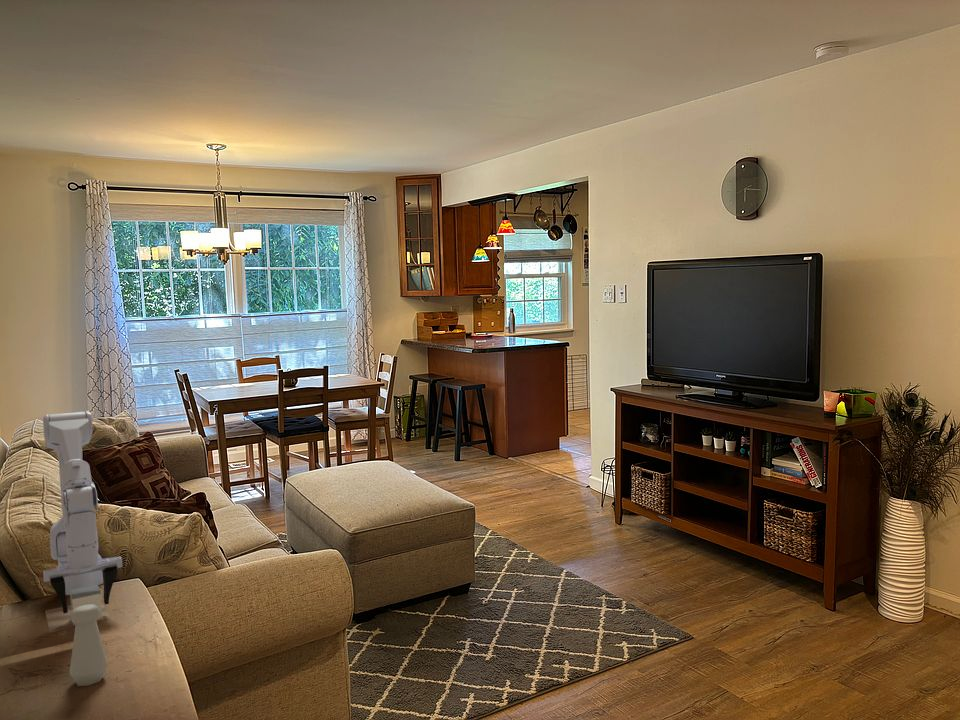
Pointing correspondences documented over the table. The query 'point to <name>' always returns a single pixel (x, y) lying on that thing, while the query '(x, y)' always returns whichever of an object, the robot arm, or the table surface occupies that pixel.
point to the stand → (66, 618)
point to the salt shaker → (87, 647)
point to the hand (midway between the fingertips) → (86, 607)
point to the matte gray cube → (86, 598)
